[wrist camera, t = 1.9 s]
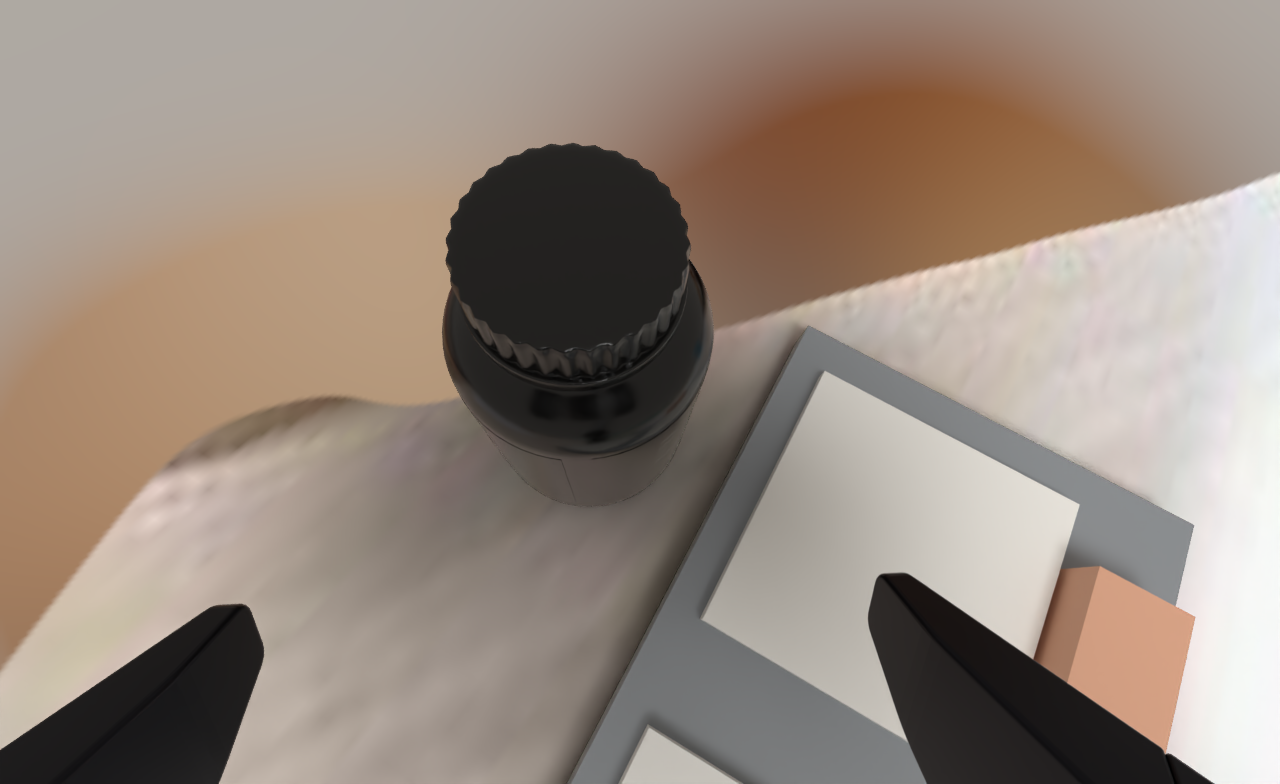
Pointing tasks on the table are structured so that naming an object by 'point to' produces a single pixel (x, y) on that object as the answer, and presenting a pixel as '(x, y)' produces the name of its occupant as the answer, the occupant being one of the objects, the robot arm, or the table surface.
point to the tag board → (845, 577)
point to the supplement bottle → (576, 320)
